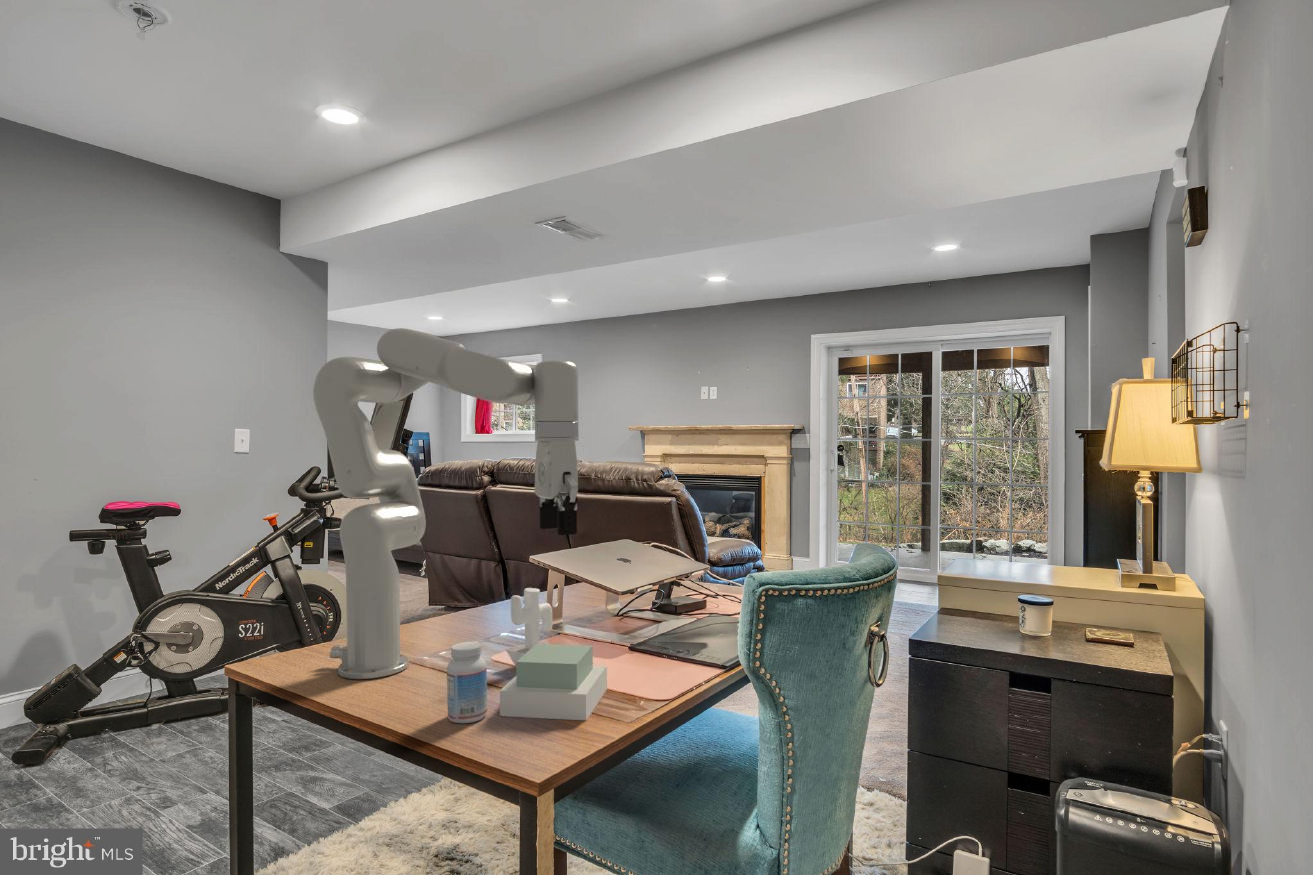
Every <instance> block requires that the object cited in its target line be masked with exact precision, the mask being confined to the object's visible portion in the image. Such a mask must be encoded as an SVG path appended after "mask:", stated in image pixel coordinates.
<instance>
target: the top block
mask: <svg viewBox="0 0 1313 875" xmlns="http://www.w3.org/2000/svg"><path fill="white" fill-rule="evenodd" d="M593 653H594V652H593V645H581V644H580V645H579V644H550V643H547V644H536V645H535V646H534V647H533V648H531V649H530V650H529V651H528V652H527V653H526V654H525V655H523V656H522V657H521V658H520V659H519V660H518V661H516V666H515V673H516V674H515V676H516V687H533V688H555V689H578V688H579V686H580V685H581V684H582V682H583V681H584V680H585V678H586V677H587V676H588V675H589V673H590V672H591V671H592V669H593V665H594V664H593V663H594V661H593V657H594V656H593Z"/></svg>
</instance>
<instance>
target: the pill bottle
mask: <svg viewBox="0 0 1313 875" xmlns="http://www.w3.org/2000/svg"><path fill="white" fill-rule="evenodd" d="M482 650H483V649H482V643H481V642H477V641H465V642H459V643H456V644H453V645H452V646H451V647H450V656H451V658H452V660H450V661H449V662H448V663H447V666H446V688H447V689H446V694H447V696H446V697H447V718H448V720H449V721H450V722H451V723H455V724H470V723H475V722H478V721H480V720H483V718H485V717H486V716H487V714H488V684H487V683H488V678H487V677H488V676H487V675H488V673H487V661H486V660H485V658H483V657H481V655H482V653H483V651H482Z"/></svg>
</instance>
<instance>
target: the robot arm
mask: <svg viewBox="0 0 1313 875" xmlns="http://www.w3.org/2000/svg"><path fill="white" fill-rule="evenodd" d="M376 352H377V355H378V358H379V360H376V359H370V358H363V357H356V356H342V357H341V356H340V357H336V358H334V359H333V358H332V359H331V360H329V361H327V362H326V363H325V364H324V365H323V366H322V367H321V368H320V369H319V371H318V372H317V375H316V377H315V380H314V385H313V392H312V393H313V394H312V395H313V402H314V406H315V410H316V412H317V416H318V417H319V421H320V423H321V426H322V428H323V431H324V434H325V437H326V438H325V439H326V442H327V448H328V453H329V457H330V460H331V464H332V469H333V473H334V479H335V481H336V485H337V488H338V491H339V492H340V493H341V494H342V495H343V496H344V497H346V498H349V499H352V500H353V499H354V500H361V499H364V500H366V499H373V498H378V501H379V502H376V503H369V504H364V505H360V506H357V507H355V508H352V509H351V510H349V511H348V512H347V513H346V514H345V515H344V517H343V518H342V520H341V523H340V526H339V538H340V539H339V540H340V544H341V549H342V553H343V557H344V558H343V560H344V566H345V590H346V592H345V593H346V596H345V597H346V602H345V603H346V604H345V605H346V645H333V646H332V648H331V650H330V653H329V658H330V659H340V660H341V663H340V664H339V665H338V668H337V672H338V675H339V676H340V677H342V678H345V679H351V680H369V679H370V680H371V679H377V678H378V679H379V678H383V677H387V676H392V675H394V674H398V673H400V672H402V671H404V670H405V669H407V668H408V667H409V664H410V662H409V661H410V660H409V659H410V658H409V657H408V656H406V655H404V654H401V610H400V609H401V607H400V606H401V604H400V602H401V600H400V597H401V596H400V593H401V592H400V588H401V587H400V572H399V568H398V565H397V561H396V560H395V558H394V556H393V554H392V551H394V550H398V549H403V548H408V547H411V546H413V545H416V544H417V543H418V542H419V541H420V540H421V539H422V538H423V536H424V535H425V532H426V526H427V521H426V514H425V508H424V506H423V501H422V497H421V493H420V488H419V485H418V481H417V476H416V474H415V470H414V467H413V465H412V463H411V462H410V460H409V458H408V457H407V456H406V455H404V453H401V452H400V451H398V450H394V449H379V447H378V445H377V442H376V439H375V434H374V430H373V426H372V424H371V422H370V420H369V419H368V416H367V415H366V414H365V413H364V411H363V410H362V409H361V408H360V406H359V403H361V402H362V403H370V404H371V403H374V404H392V403H396V402H397V403H398V401H402V400H403V399H404V398H407V397H408V396H410V395H411V394H412V393H414V392H416V391H418V390H419V389H420V388H422V387H423V386H425V385H427V384H428V383H432V384H434V385H435V384H436V385H439V386H440V387H441V386H442V387H444V388H446V389H450V390H452V391H454V392H457V393H460V394H463V395H466V396H470V397H472V398H476V399H478V400H483V401H486V402H491V403H495V404H503V405H504V404H505V405H514V406H515V405H516V406H533V405H534V441H535V442H537V444H536V452H535V465H534V494H535V495H536V496H537V497H538V498H539V501H538V502H539V503H538V504H539V528H540V529H541V530H549V529H557V535H558V536H570V535H571V536H572V535H577V532H578V524H577V523H578V522H577V521H578V518H577V517H578V516H577V514H578V512H577V510H578V504H577V502H578V492H579V485H578V484H579V483H578V482H579V480H578V476H579V474H578V459H577V458H578V457H577V446H576V442H577V441H578V442H579V439H580V438H579V371H578V367H577V365H576V364H575V363H574V362H571V361H568V360H567V361H566V360H546V361H545V360H544V361H540V362H538V363H537V364H536V365H535V364H530V363H524V362H521V361H515V360H510V359H504V358H500V357H496V356H491V355H489V354H488V355H487V354H483V353H480V352H476V351H472V350H469V349H466V347H465V346H464V344H462V343H460V342H458V341H454V340H450V339H446V338H444V337H443V338H442V337H438V336H437V335H434V334H431V333H428V332H423V331H418V330H415V329H411V328H410V329H409V328H403V327H402V328H401V327H400V328H398V327H397V328H393V329H390V330H388V331H386V332H384V333H383V334H382V335H381V336H380V338H379V340H378V341H377V345H376ZM556 504H557V505H556ZM558 508H559V509H558Z"/></svg>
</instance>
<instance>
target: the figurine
mask: <svg viewBox="0 0 1313 875" xmlns="http://www.w3.org/2000/svg"><path fill="white" fill-rule="evenodd" d="M540 593H541V590H540V589H539V588H536V587H534V588H533V587H527V588H524V589H523V600H522V597H521V596H520V595H515V594H514V595H512V596H511V597H510V618H511V619H510V620H511V622H512V623H513V624H514V625H515V626H520V625H523V624H524V643H521V644H518V645H514V646H511V647H507V648H505V651H506V653H507V654H508V656H509V657H510V660H511V661H512V663H513V664H514V666H515V667H516V661H518V660H519V659H520V658H521V657H522V656H523V655H525V654H526V653H527V652H528V651H529V650H530V649H531V648H533V647H534V646H535V645H536V644H548V643H546V642H543V641H540V638H541V637H540V636H541V635H540V633H541V632H540V631H541V630H540V620H541V628H542V630H543V631H551V630H552V629H553V607H552V606H551V604H550V603H548V602H543V603H540ZM523 605H524V606H523Z"/></svg>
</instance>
